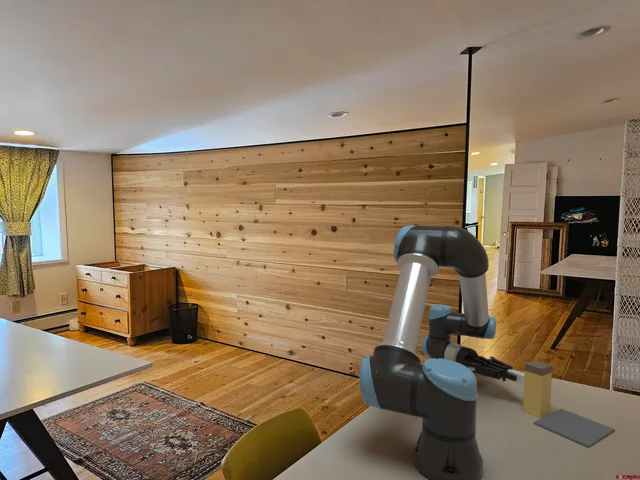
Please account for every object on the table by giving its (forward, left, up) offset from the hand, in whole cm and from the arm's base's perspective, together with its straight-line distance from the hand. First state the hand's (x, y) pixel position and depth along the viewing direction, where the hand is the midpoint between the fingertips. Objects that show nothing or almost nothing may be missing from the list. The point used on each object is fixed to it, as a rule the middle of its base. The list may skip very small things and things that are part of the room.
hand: (529, 381), depth 125 cm
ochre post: (-1, -3, -8) cm, 8 cm away
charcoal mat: (-1, -13, -8) cm, 15 cm away
